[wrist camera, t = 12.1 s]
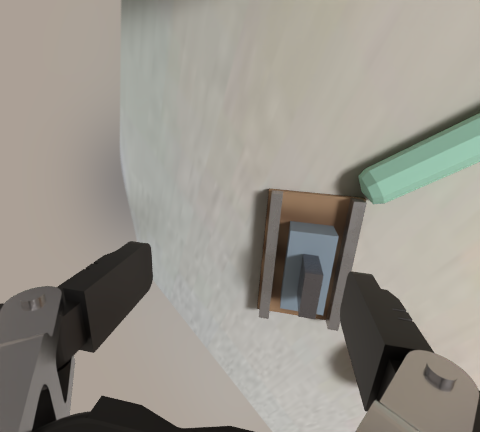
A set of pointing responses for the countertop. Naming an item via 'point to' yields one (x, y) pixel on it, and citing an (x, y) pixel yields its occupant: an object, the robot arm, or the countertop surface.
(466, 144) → the mint green cylinder
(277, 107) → the countertop surface
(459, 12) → the countertop surface
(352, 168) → the countertop surface
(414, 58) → the countertop surface
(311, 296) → the blue block with handle
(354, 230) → the tray
